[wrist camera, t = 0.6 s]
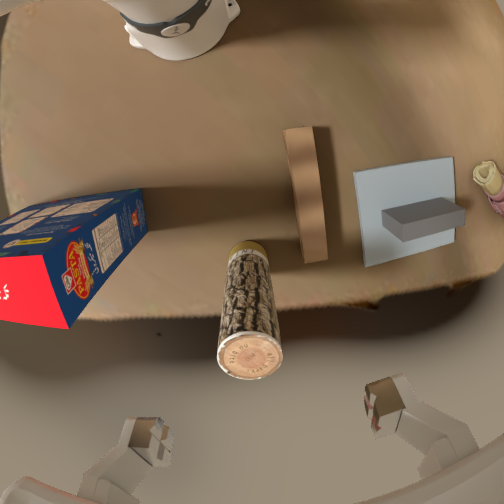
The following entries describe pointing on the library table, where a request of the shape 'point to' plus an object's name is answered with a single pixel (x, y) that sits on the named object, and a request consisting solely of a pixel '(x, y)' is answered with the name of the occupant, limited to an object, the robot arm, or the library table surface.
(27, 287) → the pasta box
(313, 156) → the light brown wooden bar
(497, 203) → the scroll
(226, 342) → the bark cylinder
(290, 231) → the library table surface
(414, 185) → the ridge stand
